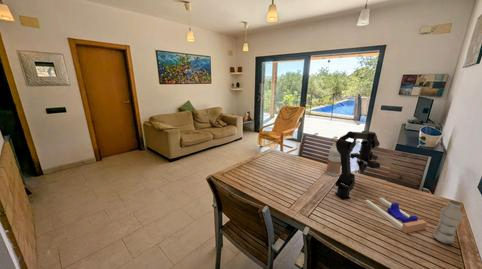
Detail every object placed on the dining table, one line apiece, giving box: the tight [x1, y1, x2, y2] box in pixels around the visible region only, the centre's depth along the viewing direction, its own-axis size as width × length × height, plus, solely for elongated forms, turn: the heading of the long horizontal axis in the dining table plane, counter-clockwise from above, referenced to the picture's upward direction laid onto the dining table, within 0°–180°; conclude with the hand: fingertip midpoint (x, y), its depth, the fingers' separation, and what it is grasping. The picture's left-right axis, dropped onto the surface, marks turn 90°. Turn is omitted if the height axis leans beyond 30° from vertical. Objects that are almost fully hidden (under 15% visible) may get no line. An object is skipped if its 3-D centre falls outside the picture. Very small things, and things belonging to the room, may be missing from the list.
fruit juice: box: [326, 138, 341, 177], centre depth 146 cm, size 9×9×28 cm
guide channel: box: [364, 197, 428, 234], centre depth 103 cm, size 12×24×4 cm, turn 12°
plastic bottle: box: [433, 200, 463, 245], centre depth 84 cm, size 6×7×20 cm
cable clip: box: [386, 202, 419, 224], centre depth 100 cm, size 12×4×6 cm, turn 6°
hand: (362, 172), depth 127 cm, fingers closed
